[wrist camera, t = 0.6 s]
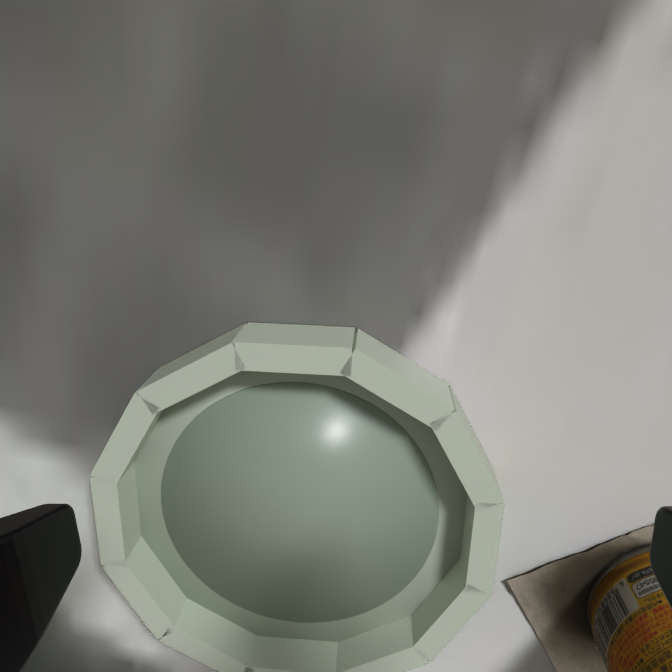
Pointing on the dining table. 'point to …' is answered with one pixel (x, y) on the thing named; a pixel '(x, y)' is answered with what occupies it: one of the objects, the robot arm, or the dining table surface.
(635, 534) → the condiment
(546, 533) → the dining table surface
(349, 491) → the round tray
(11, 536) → the robot arm
